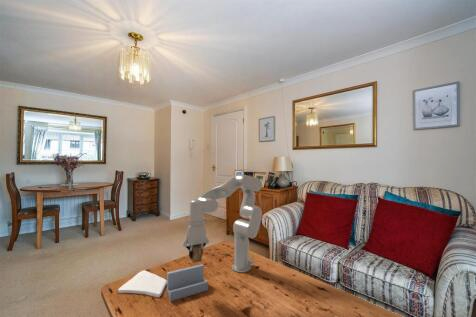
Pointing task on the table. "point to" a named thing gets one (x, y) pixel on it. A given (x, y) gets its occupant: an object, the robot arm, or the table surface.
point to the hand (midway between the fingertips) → (195, 256)
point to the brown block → (196, 253)
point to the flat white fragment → (144, 284)
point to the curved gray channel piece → (186, 282)
